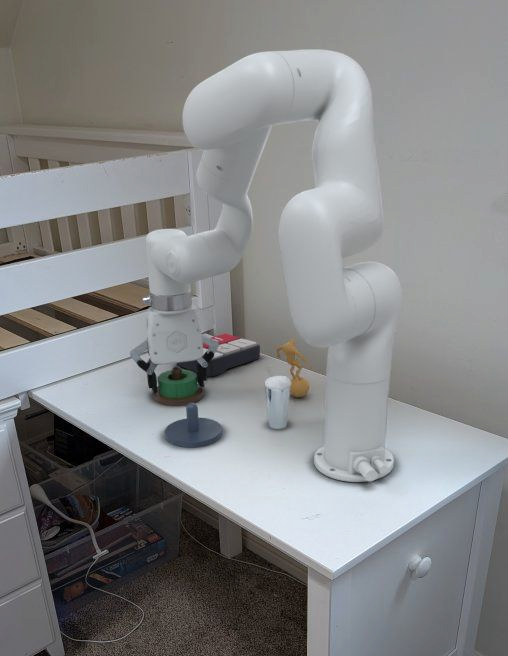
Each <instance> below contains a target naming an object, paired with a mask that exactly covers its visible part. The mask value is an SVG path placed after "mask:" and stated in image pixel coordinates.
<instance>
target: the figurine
mask: <svg viewBox="0 0 508 656" xmlns="http://www.w3.org/2000/svg"><path fill="white" fill-rule="evenodd" d="M295 346H296V340H295V338H291V339H290V340H289V341H287V342H286V343H285V344H282V345H281V346H278V347H277V348H276V357H277V358H278V359H281V358H282V355H281V352H280V351H281V350H282V353H283V354H284V355H285V361H286V362H287V364H288V365H290V366H291V367H290V368H289V371H290V372H289V373H290V375H291V377H292V378H291V379H290V381H291V387H290V395H291V396H293V397H295V398H303V397H305V396H306V395H307V394H308V393H309V391H310V383H309V381H308V379H306V378H305V377H304V376H300V375H299V374H300V373H301V371H302V369H303V364H302V363H301V362H300V361H299V359H297V358H296V356H297V357H299V358H300V359H301V360H302V361H303V362H304V363H305V364H306V365H307V366H308V367H309V369H312V367H311V364H310V363H309V361H307V359H306V358H305V357H304V356H303V355H302V354H301V353H300V352H299V351H298V350H297V348H296V347H295ZM295 367H296V368H298V369H297V370H296V372H295V374H294V371H295Z"/></svg>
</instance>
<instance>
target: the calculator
mask: <svg viewBox="0 0 508 656" xmlns="http://www.w3.org/2000/svg"><path fill="white" fill-rule="evenodd" d="M210 338H211V339H214V340H216V341H217V342H218V343H219V347H218V349H217V351H216V353H215V354H214V357H213V358H212V359H211V361H210V362H209V363H208V366H207V367H206V377H210V378H212V377H215V376H219V375H222V374H224V373H226V371H227V370H228V369H231V368H235V367H237V366H240V365H245V364H247V363H249V362H252V361H256V360H259V359H260V358H261V345H260V344H258V342H256V341H253V340H250V339H245V338H240V337H239V336H235V335H232V334H229V333H221V334H218V335H214V336H211V337H210ZM208 349H209V345H207V344H204V343H203V355H204V354H205V353H206V351H207V350H208ZM197 363H198V361H197V360H194V361H187V362H180V363H176V366H178V367H180V368H184V369H185V370H189V371H192V372H195V373H197V370H196V364H197Z"/></svg>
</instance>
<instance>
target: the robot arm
mask: <svg viewBox="0 0 508 656" xmlns="http://www.w3.org/2000/svg"><path fill="white" fill-rule="evenodd" d="M373 99H374V98H373V92H372V87H371V84H370V80H369V78H368V76H367V74H366V71H364V69H363V67H362V66H361V65H360V64H359V63H358V61H356V60H355V59H354V58H352V57H350V56H349V55H347V54H345V53H342V52H339V51H335V50H330V49H315V48H314V49H313V48H312V49H310V48H309V49H307V48H306V49H292V50H291V49H290V50H270V51H269V50H268V51H260V52H259V51H258V52H255V53H252V54H249V55H246V56H244V57H242V58H240V59H239V60H237V61H235V62H233V63H232V64H230V65H228V66H226V67H225V68H223V69H222V70H220V71H218V72H216V73H215V74H212V75H211V76H209V77H207V78H205V79H204V80H203V81H201V82H200V83H198V84H197V85H196V86H195V87H194V88H192V90H191V91H190V93H189V94H188V96H187V98H186V100H185V102H184V104H183V108H182V117H181V120H182V128H183V132H184V135H185V137H186V139H187V140H188V142H189V143H190V144H191V145H192V146H193V147H195V148H196V149H198V150H202V154H201V157H200V160H199V163H198V166H197V169H196V171H195V172H196V173H195V181H196V184H197V185H198V187H199V188H200V190H201V191H202V192H203V193H204V194H205V195H206V196H208V197H209V198H210V199H213V200H214V201H216V202H219V203H220V204H222V209H221V211H220V216H219V218H218V221H217V223H216V226H215V228H214V229H212V230H211V229H210V230H207V231H201V232H198V233H194V234H191V235H187V234H186V233H185V232H184V231H183V230H181V229H176V228H160V229H154V230H152V231H150V232H148V233H147V234H146V237H145V240H144V241H145V255H146V265H147V276H148V277H147V278H148V287H149V288H148V289H149V291H148V293H147V294H148V295H146V296H142V300H141V301H142V304H143V305H147V306H149V307H148V308H147V313H146V314H147V315H146V340H144V341H143V342H141V343H139V345H137V346H136V347H135V348H132V350H130V352H129V356H130V358H131V359H132V360H133V361H134V362H135V364H136V365H137V367H138V368H139V369H141V370H142V371H144V372H145V373H146V379H147V387H148V389H151V391H152V394H153V393H154V394H156V393H158V390H157V387H158V379H157V373H156V372H155V370H156V368H157V367H158V365H159V366H162V365H163V366H164V365H170V364H177V363H180V362H187V361H194V360H197V361H198V363H197V364H196V370H197V372H196V375H197V384H199V385H200V387H203V388H205V382H207V376H206V367H207V366H208V363H209V362H210V361H211V359H212V358H213V357H214V354H215V353H216V351H217V349H218V347H219V343H218V342H217V341H216V340H214V339H211V337H209V336H207V335H204V334H202V327H201V320H200V315H199V312H198V308H197V305H195V304H194V303H193V301H192V300H193V299H192V286H191V285H192V283H195V282H198V281H203V280H206V279H208V278H213V277H215V276H219V275H222V274H223V275H224V274H226V273H229V272H231V271H232V270H233V269H235V268H236V267H237V266H238V265H239V263H240V261H241V260H242V258H243V256H244V254H245V252H246V250H247V247H248V245H249V243H250V239H251V236H252V233H253V229H254V219H253V218H254V214H253V208H252V204H251V200H250V198H249V195H248V192H249V189H250V186H251V183H252V181H253V178H254V175H255V172H256V170H257V168H258V166H259V165H258V164H259V162H260V159H261V157H262V154H263V152H264V149H265V146H266V144H267V142H268V138H269V136H270V133H271V131H272V128H273V126H278V125H285V124H295V123H299V122H306V121H314V122H317V126H316V129H315V131H314V136H313V140H312V144H311V145H312V146H311V147H312V148H311V162H312V169H313V176H314V188H311V189H307V190H303V191H301V192H299V193H297V194H295V195H294V196H293V197H292V198H290V199H289V201H288V202H287V203H286V205H285V206H284V208H283V210H282V213H281V215H280V218H279V222H278V223H279V224H278V246H279V253H280V260H281V265H282V272H283V277H284V284H285V290H286V297H287V303H288V307H289V313H290V317H291V320H292V323H293V326H294V329H295V331H296V332H297V334H298V335H299V337H300V338H301V339H302V340H303V341H304V342H305V343H307V344H308V345H310V346H312V347H315V348H321V349H323V348H328V351H327V355H326V370H325V399H324V400H325V401H324V402H325V405H324V406H325V407H324V441H323V445H322V446H321V447H319V448H318V449H316V451H315V453H314V455H313V456H314V457H313V458H314V459H313V464H314V466H315V469H317V471H319V472H320V473H321V474H323V475H324V476H327V477H329V478H331V479H334V480H337V481H342V482H350V483H362V482H368V483H369V482H370V483H371V482H373V481H374V482H375V480H378V479H382V478H383V477H385V476H387V475H388V474H389V473H391V471H392V470H394V469H393V468H394V465H395V458H394V455H393V454H392V452H391V451H390V450H389V449H387V448H386V439H387V424H388V411H389V398H390V385H391V373H392V361H393V359H392V358H393V349H394V343H395V337H396V331H397V328H398V324H399V320H400V317H401V312H402V307H403V288H402V284H401V282H400V279H399V277H398V275H397V274H396V273H395V271H393V269H392V268H391V267H389V266H387V265H386V264H384V263H382V262H377V261H361V262H356V263H352V264H350V265H347V266H344V267H343V259H345V258H348V257H351V256H354V255H357V254H360V253H363V252H366V251H367V250H369V249H372V247H374V246H375V245H376V244H377V243H378V242H379V241H380V240H381V238H382V235H383V232H384V225H385V223H384V222H385V221H384V219H385V218H384V207H383V198H382V191H381V190H382V189H381V181H380V180H381V179H380V173H379V171H380V170H379V163H378V156H377V150H376V140H375V127H374V126H375V124H374V123H375V121H374V100H373ZM203 343H204V344H207V345H209V349H208V350H207V351H206V353H205V354H204V355H203ZM146 351H147V354H148V357H149V358H148V360H147V361H145V360H143V359H142V357H140V356H141V355H142V354H143V353H145V352H146Z"/></svg>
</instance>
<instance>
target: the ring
mask: <svg viewBox="0 0 508 656" xmlns="http://www.w3.org/2000/svg"><path fill="white" fill-rule="evenodd" d="M197 384H198V382H197V373H196V372H195V371H192V370H189V369H182V380H172V369H171V370H166V371H164V372H161V373H159V375H158V376H157V387H158V388H159V393H160V395H162V396H164V397H167V398H184V397H189V396H191V395H193V394H195V393H196V392H197V390H198V386H197Z"/></svg>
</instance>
